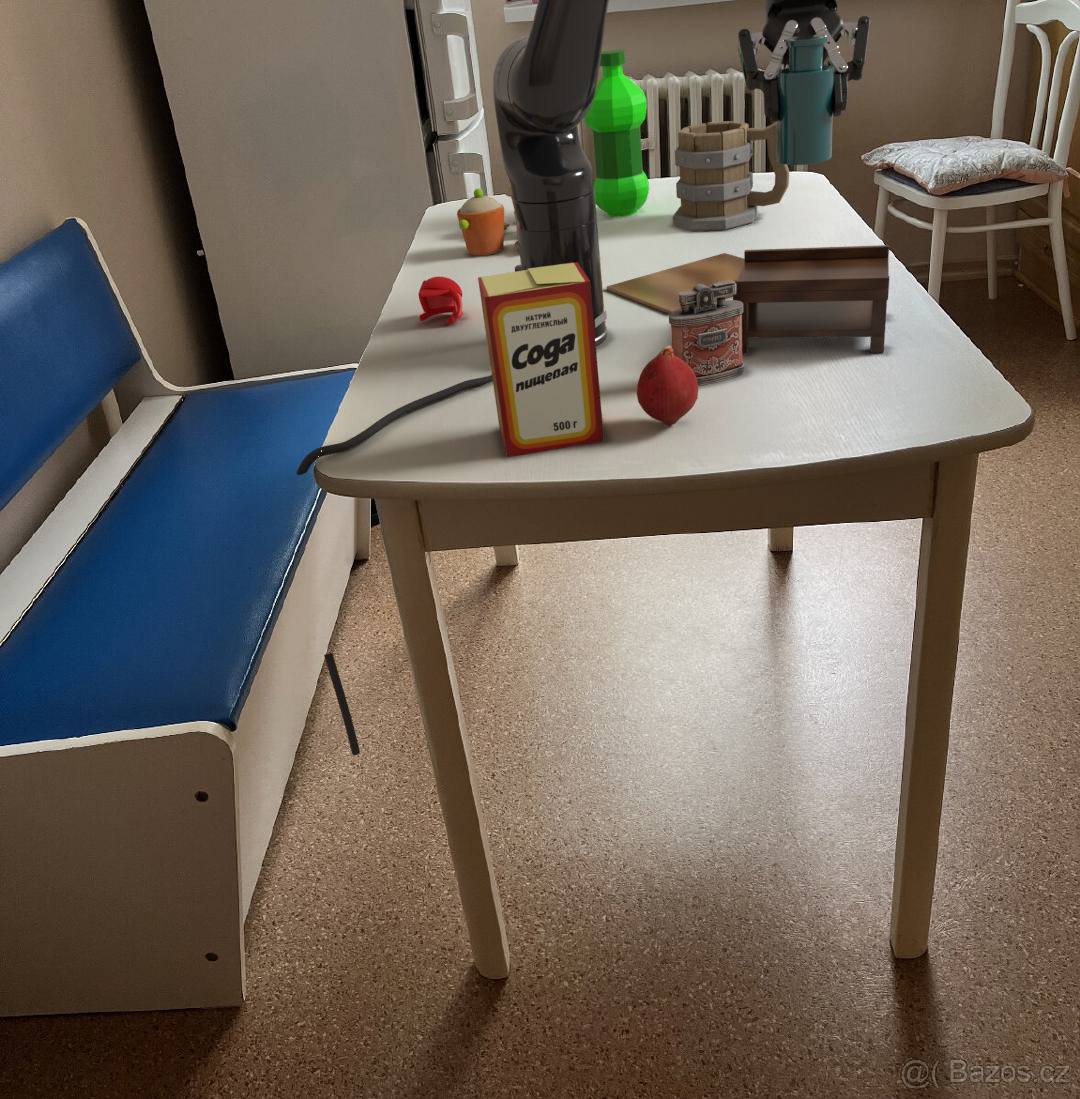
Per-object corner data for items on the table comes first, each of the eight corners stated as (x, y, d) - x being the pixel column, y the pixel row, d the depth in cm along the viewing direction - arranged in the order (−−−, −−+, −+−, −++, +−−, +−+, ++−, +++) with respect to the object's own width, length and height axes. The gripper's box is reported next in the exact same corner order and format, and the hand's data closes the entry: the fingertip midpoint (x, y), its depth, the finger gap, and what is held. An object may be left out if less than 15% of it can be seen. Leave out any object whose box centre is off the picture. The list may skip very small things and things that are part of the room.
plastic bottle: (586, 211, 180) (572, 54, 167) (644, 202, 181) (635, 45, 168) (599, 224, 171) (585, 59, 158) (660, 214, 172) (652, 49, 159)
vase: (806, 167, 109) (809, 41, 103) (765, 162, 113) (765, 41, 107) (842, 155, 112) (847, 32, 105) (801, 151, 116) (803, 32, 110)
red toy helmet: (425, 313, 140) (417, 269, 137) (468, 309, 139) (461, 265, 136) (416, 333, 133) (408, 287, 130) (461, 329, 133) (454, 283, 129)
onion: (651, 442, 98) (646, 362, 94) (631, 420, 103) (625, 343, 99) (708, 429, 99) (706, 350, 95) (685, 408, 104) (682, 331, 100)
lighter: (679, 390, 108) (675, 297, 103) (666, 379, 110) (662, 288, 105) (749, 374, 109) (749, 281, 104) (735, 364, 112) (734, 273, 107)
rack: (733, 354, 115) (732, 281, 111) (745, 317, 124) (744, 249, 120) (884, 353, 110) (889, 277, 106) (884, 315, 120) (889, 244, 116)
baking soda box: (507, 456, 99) (484, 293, 90) (499, 429, 104) (477, 273, 96) (604, 440, 99) (589, 277, 91) (591, 414, 105) (577, 258, 97)
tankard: (668, 232, 162) (664, 131, 154) (683, 211, 172) (679, 115, 164) (799, 228, 156) (801, 122, 148) (806, 207, 166) (808, 107, 158)
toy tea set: (561, 252, 159) (555, 187, 154) (461, 264, 159) (452, 200, 154) (553, 213, 181) (547, 155, 176) (466, 223, 182) (458, 166, 177)
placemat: (670, 315, 128) (670, 311, 128) (606, 289, 140) (606, 286, 140) (795, 277, 136) (795, 273, 135) (724, 256, 147) (724, 252, 147)
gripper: (733, -40, 110) (737, 98, 106) (873, -56, 107) (882, 84, 104) (732, 12, 117) (736, 142, 113) (864, -3, 115) (872, 130, 111)
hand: (806, 114), depth 108 cm, fingers closed on vase, 6 cm apart
